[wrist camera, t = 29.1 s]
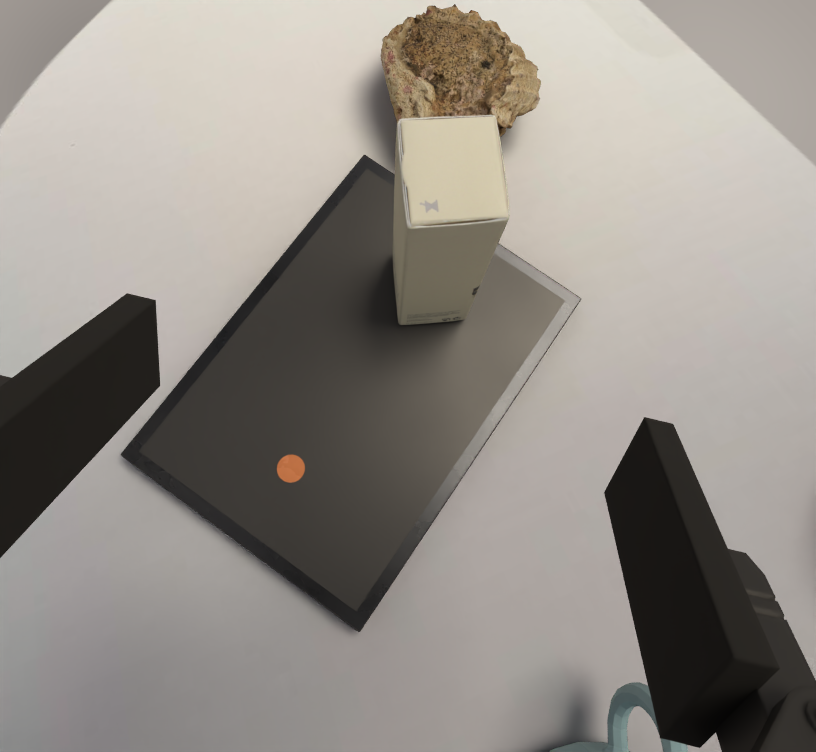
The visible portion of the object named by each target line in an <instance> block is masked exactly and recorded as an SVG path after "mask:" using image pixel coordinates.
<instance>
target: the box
mask: <svg viewBox="0 0 816 752" xmlns="http://www.w3.org/2000/svg"><path fill="white" fill-rule="evenodd" d="M509 216H510V213H509V201H508V192H507V184H506V176H505V168H504V161H503V154H502V148H501V142H500V136H499V131H498V126H497V120H496V117H495V116H494V115H480V116H442V117H421V118H402V119H399V121H398V122H397V129H396V148H395V185H394V223H393V272H394V285H395V296H396V306H397V316H398V323H399V324H400V325H411V324H426V323H437V322H449V321H457V320H464V319H466V317H467V315H468V313H469V310H470V308H471V305H472V303H473V301H474V299H475V296H476V294H477V291H478V289H479V286H480V284H481V282H482V280H483V277H484V275H485V273H486V270H487V268H488V266H489V263H490V261H491V259H492V256H493V254H494V252H495V249H496V247H497V245H498V242H499V240H500V238H501V235H502V233H503V231H504V229H505V226H506V224H507V222H508V219H509Z"/></svg>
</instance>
